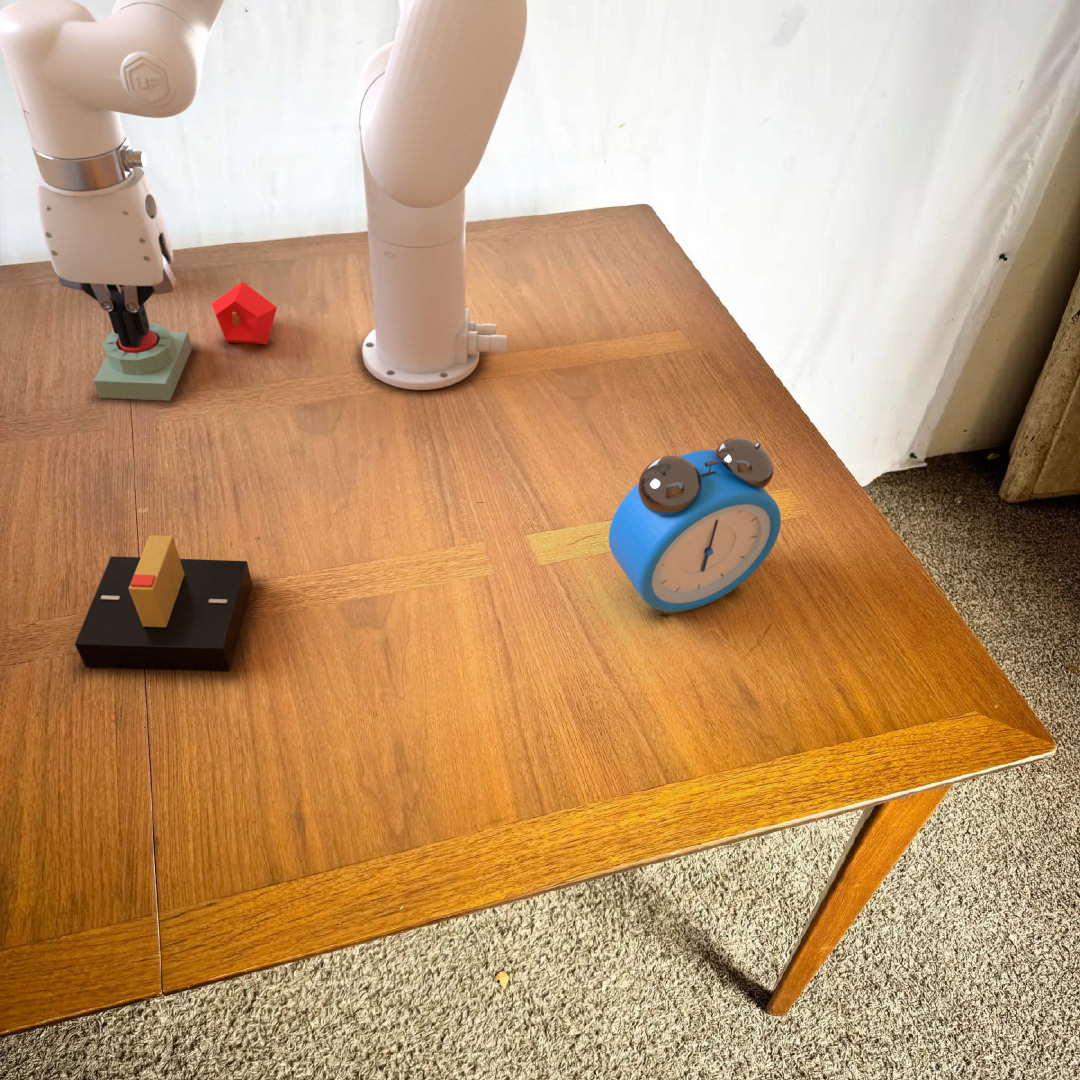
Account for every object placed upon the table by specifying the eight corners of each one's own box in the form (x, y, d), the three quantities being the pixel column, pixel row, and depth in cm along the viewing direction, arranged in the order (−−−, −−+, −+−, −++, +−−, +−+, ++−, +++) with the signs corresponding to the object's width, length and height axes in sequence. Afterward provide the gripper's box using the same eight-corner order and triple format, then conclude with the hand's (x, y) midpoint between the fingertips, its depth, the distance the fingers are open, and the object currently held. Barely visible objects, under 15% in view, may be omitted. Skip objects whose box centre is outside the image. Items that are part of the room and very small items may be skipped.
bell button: (128, 342, 99) (124, 327, 98) (164, 343, 99) (160, 329, 98) (118, 362, 97) (113, 348, 96) (154, 364, 97) (150, 350, 96)
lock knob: (162, 573, 77) (148, 532, 74) (185, 574, 77) (172, 533, 74) (142, 627, 73) (127, 586, 70) (166, 627, 73) (152, 587, 70)
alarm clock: (631, 633, 80) (657, 504, 69) (597, 581, 83) (617, 450, 73) (762, 589, 84) (807, 460, 73) (725, 541, 88) (761, 412, 77)
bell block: (125, 346, 103) (116, 314, 100) (192, 349, 103) (184, 317, 100) (99, 398, 97) (88, 365, 94) (170, 401, 97) (161, 368, 94)
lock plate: (253, 584, 81) (246, 559, 79) (229, 671, 75) (222, 647, 72) (120, 580, 80) (110, 554, 78) (85, 667, 74) (73, 642, 72)
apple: (225, 268, 105) (202, 281, 97) (287, 284, 106) (269, 299, 98) (217, 329, 108) (194, 346, 100) (278, 344, 108) (260, 363, 101)
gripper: (182, 147, 87) (218, 322, 100) (12, 137, 86) (71, 314, 99) (160, 186, 81) (201, 364, 95) (-21, 175, 81) (45, 357, 94)
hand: (134, 338), depth 97 cm, fingers closed
